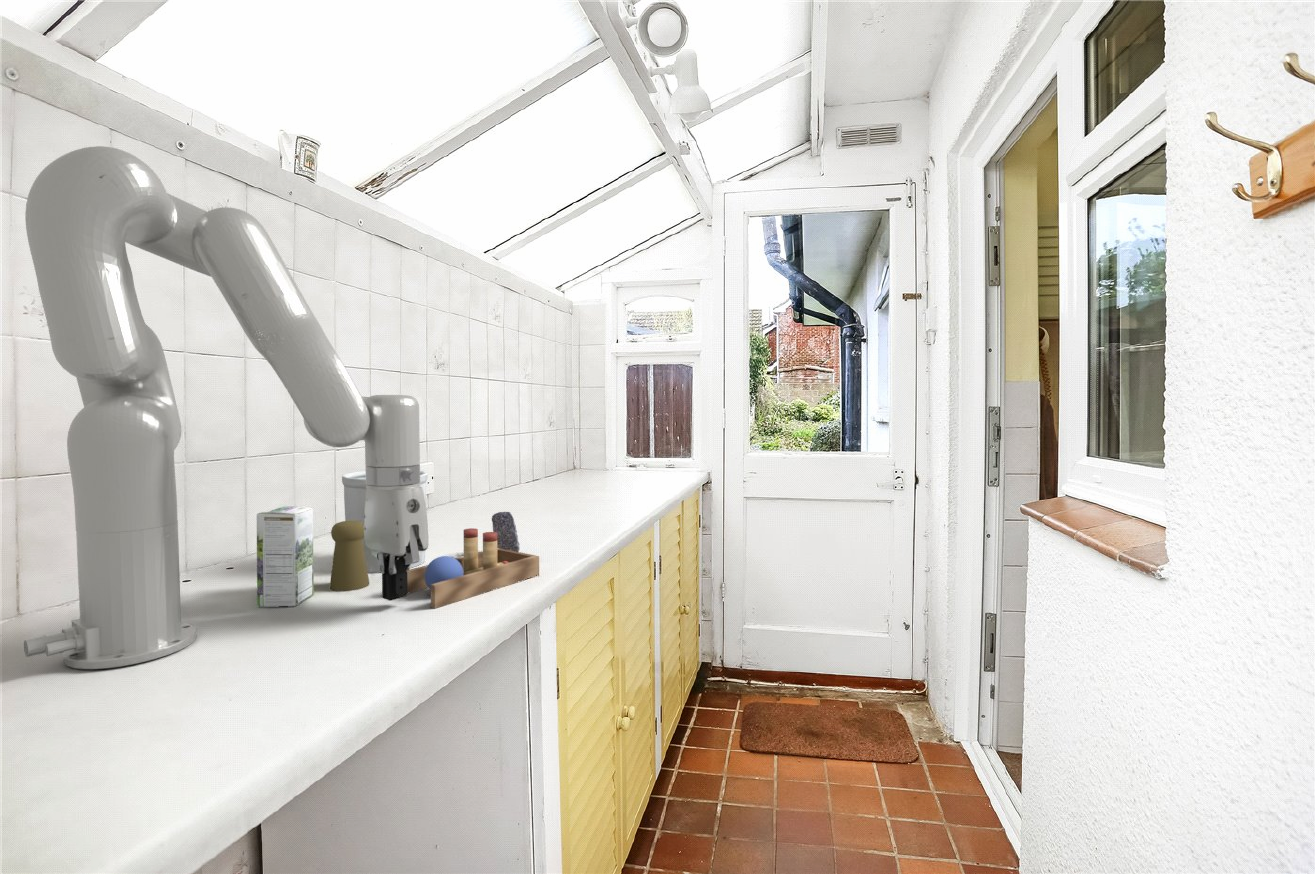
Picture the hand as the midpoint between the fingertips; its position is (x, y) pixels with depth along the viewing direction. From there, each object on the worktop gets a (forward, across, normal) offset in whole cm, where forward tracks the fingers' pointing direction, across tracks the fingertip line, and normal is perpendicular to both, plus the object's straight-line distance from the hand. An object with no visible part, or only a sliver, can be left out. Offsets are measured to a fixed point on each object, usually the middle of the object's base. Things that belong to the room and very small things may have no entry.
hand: (395, 597), depth 93 cm
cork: (+2, +16, -2) cm, 16 cm away
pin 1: (+2, +2, -16) cm, 17 cm away
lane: (+2, 0, -14) cm, 14 cm away
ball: (-2, 0, -9) cm, 9 cm away
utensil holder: (+2, +24, -14) cm, 28 cm away
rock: (+2, +9, -30) cm, 31 cm away
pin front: (0, 0, -13) cm, 13 cm away
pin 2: (+2, -2, -16) cm, 17 cm away
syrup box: (+2, +16, +8) cm, 18 cm away
